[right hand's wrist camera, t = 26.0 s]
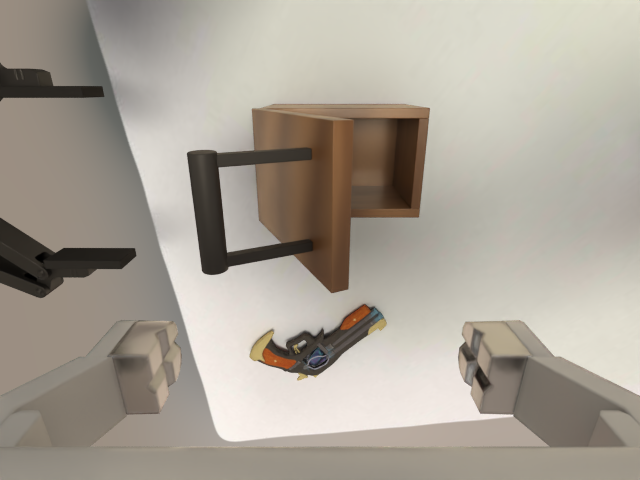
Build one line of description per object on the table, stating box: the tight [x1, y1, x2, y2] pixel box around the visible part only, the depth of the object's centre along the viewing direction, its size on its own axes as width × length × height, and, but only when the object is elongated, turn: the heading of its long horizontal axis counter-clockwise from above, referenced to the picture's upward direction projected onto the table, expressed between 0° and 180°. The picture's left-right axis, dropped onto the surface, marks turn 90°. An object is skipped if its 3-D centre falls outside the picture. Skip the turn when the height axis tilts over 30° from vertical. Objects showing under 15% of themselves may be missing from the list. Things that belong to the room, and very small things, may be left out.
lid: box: [187, 108, 354, 293], centre depth 27 cm, size 16×10×8 cm
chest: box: [263, 104, 430, 217], centre depth 41 cm, size 15×10×11 cm
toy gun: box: [250, 305, 387, 380], centre depth 55 cm, size 3×19×10 cm
